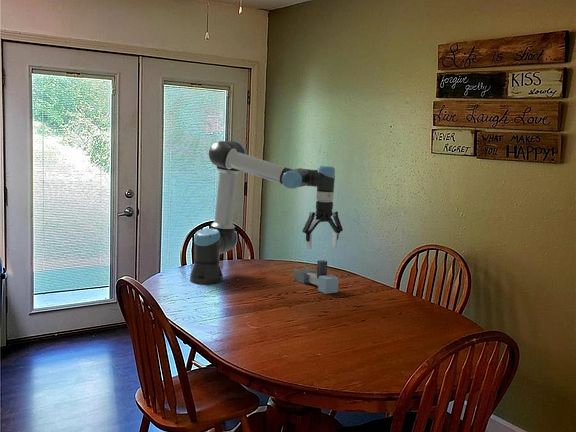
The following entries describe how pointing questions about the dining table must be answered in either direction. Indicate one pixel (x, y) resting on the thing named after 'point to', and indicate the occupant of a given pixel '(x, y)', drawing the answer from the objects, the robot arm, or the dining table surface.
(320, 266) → the gray bent bar
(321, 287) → the socket
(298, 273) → the open u-shaped channel
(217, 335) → the dining table surface
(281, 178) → the robot arm
